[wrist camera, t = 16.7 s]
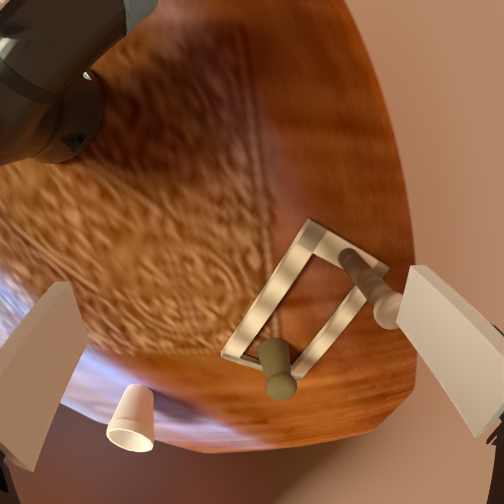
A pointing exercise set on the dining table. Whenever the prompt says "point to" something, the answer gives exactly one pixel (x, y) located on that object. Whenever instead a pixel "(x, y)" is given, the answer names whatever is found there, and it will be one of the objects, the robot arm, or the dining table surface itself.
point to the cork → (277, 369)
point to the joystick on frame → (366, 289)
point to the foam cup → (133, 420)
